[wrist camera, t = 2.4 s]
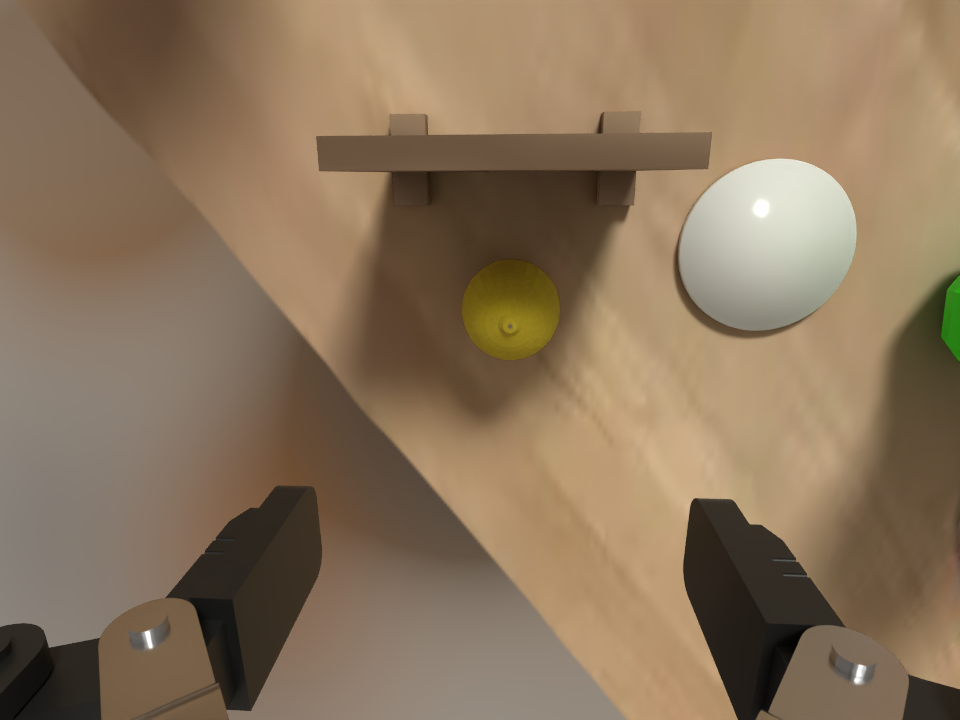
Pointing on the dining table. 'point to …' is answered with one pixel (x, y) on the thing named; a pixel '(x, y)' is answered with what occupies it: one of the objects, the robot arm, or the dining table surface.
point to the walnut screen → (515, 155)
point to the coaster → (767, 244)
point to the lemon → (510, 309)
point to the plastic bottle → (952, 319)
